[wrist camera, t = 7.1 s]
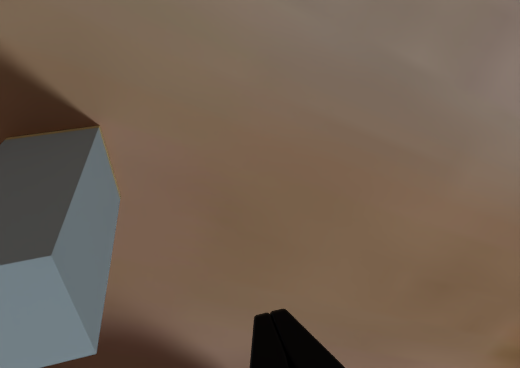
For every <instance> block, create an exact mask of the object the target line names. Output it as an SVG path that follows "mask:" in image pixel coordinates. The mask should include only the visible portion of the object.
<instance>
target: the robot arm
mask: <svg viewBox="0 0 520 368" xmlns="http://www.w3.org/2000/svg"><path fill="white" fill-rule="evenodd" d="M250 368H345V367H344V366H343V365H342V364H341V363H340V362H339V361H338V360H337V359H336V358H335V357H334V356H333V355H332V354H331V353H330V352H329V351H328V350H327V349H326V348H325V347H324V346H323V345H322V344H320V343H319V342H318V341H317V340H316V339H315V338H314V337H313V336H312V335H311V334H310V333H309V332H308V331H307V330H306V329H305V328H304V327H303V326H302V325H301V324H300V323H299V322H298V321H297V320H296V319H295V318H294V317H293V316H292V315H291V314H290V313H289V312H288V311H287V310H286V309H279V310H275V311H272V312H271V313H270V314H269V313H263V314H259V315H256V316H255V317H254V325H253V336H252V348H251V359H250Z"/></svg>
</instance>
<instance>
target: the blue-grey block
mask: <svg viewBox="0 0 520 368" xmlns="http://www.w3.org/2000/svg"><path fill="white" fill-rule="evenodd" d="M120 197H121V196H120V193H119V189H118V186H117V183H116V179H115V176H114V172H113V169H112V166H111V162H110V159H109V156H108V152H107V149H106V146H105V142H104V139H103V135H102V132H101V129H100V125H99V126H91V127H84V128H76V129H69V130H61V131H54V132H46V133H39V134H31V135H24V136H16V137H9V138H6V139H5V140H4V141H3V142H2V143H1V144H0V368H41V367H45V366H49V365H53V364H57V363H61V362H66V361H70V360H74V359H78V358H82V357H86V356H90V355H94V354H96V353H97V347H98V340H99V334H100V327H101V321H102V314H103V308H104V301H105V295H106V288H107V282H108V275H109V269H110V262H111V256H112V249H113V243H114V236H115V230H116V223H117V217H118V210H119V204H120Z"/></svg>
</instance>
